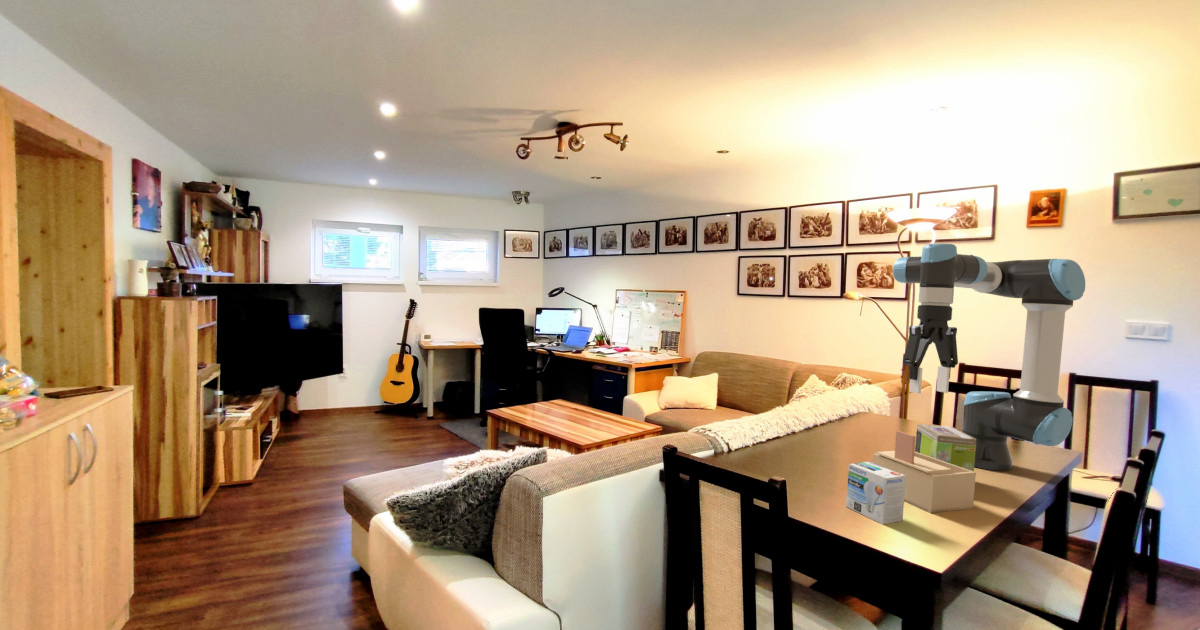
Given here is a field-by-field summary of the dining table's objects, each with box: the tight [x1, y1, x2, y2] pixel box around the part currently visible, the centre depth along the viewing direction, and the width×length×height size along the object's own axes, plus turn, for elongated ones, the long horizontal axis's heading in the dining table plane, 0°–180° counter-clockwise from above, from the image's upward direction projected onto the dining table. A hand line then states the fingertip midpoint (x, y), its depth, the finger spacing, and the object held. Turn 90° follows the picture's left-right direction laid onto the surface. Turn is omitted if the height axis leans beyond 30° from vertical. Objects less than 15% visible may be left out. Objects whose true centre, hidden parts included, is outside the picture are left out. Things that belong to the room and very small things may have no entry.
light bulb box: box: [845, 461, 906, 525], centre depth 126 cm, size 11×7×11 cm, turn 23°
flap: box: [876, 430, 951, 473], centre depth 137 cm, size 8×15×8 cm, turn 19°
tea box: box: [915, 423, 976, 472], centre depth 152 cm, size 15×10×15 cm, turn 168°
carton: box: [872, 452, 977, 514], centre depth 139 cm, size 14×18×9 cm
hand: (928, 392), depth 138 cm, fingers open, 9 cm apart
